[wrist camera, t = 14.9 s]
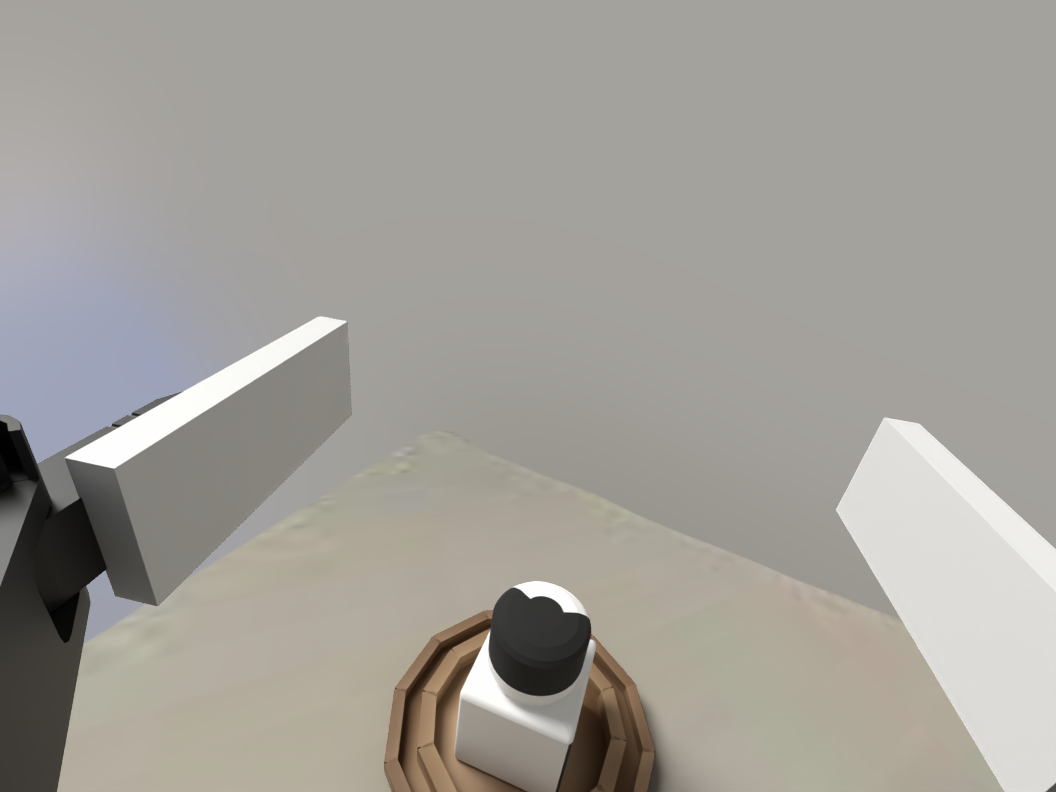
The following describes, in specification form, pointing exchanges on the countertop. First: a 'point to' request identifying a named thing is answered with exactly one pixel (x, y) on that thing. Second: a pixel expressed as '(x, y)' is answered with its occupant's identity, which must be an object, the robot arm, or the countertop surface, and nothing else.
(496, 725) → the medicine bottle
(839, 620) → the countertop surface
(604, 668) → the walnut tray
